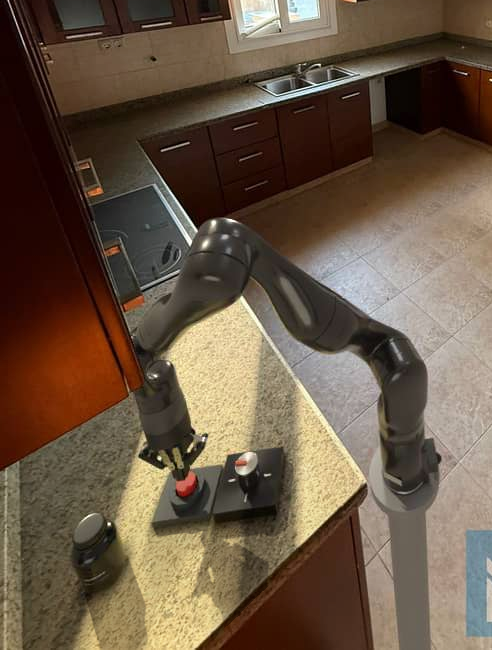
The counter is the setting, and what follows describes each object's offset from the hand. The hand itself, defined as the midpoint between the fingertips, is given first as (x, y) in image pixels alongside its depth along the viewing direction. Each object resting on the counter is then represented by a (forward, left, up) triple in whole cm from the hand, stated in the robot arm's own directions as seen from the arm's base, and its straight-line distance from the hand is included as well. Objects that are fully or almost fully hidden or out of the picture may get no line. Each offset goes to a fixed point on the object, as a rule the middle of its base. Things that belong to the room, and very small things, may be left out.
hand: (183, 476), depth 86 cm
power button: (0, 0, -4) cm, 4 cm away
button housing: (0, 0, -7) cm, 7 cm away
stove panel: (-13, 0, -7) cm, 14 cm away
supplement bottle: (+11, +10, -7) cm, 17 cm away
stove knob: (-13, 0, -4) cm, 13 cm away
